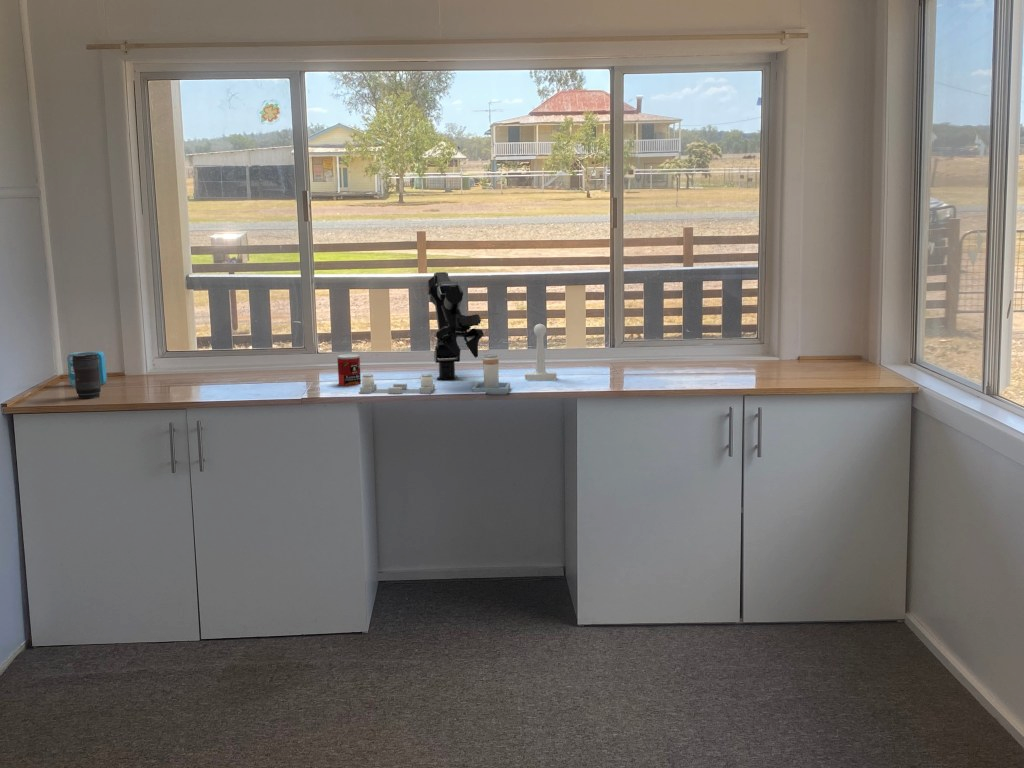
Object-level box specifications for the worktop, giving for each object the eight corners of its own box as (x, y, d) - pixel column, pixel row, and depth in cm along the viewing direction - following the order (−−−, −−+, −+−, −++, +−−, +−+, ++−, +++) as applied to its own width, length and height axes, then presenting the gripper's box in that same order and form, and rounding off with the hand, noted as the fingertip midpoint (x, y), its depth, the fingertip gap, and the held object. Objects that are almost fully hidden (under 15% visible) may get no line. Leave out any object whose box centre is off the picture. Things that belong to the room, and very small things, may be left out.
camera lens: (71, 398, 344) (66, 354, 342) (92, 394, 351) (88, 351, 348) (85, 400, 340) (81, 356, 337) (106, 396, 346) (102, 352, 344)
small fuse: (422, 390, 340) (421, 373, 339) (434, 390, 339) (433, 373, 338) (420, 392, 336) (419, 375, 335) (432, 392, 335) (431, 375, 334)
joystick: (525, 381, 359) (524, 324, 356) (524, 377, 367) (523, 322, 363) (556, 380, 360) (556, 324, 357) (554, 376, 367) (553, 321, 364)
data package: (69, 386, 368) (66, 354, 366) (73, 384, 372) (70, 352, 370) (104, 385, 369) (101, 352, 367) (107, 383, 374) (104, 351, 372)
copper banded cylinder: (480, 389, 340) (479, 355, 339) (492, 387, 344) (491, 353, 342) (490, 391, 336) (489, 356, 335) (502, 389, 340) (501, 355, 338)
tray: (476, 388, 346) (476, 382, 346) (510, 388, 345) (510, 382, 345) (472, 394, 335) (472, 388, 335) (507, 394, 334) (507, 388, 334)
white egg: (364, 390, 342) (363, 374, 341) (375, 390, 342) (375, 373, 341) (361, 392, 338) (360, 375, 337) (373, 392, 338) (372, 375, 337)
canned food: (345, 389, 350) (343, 358, 348) (334, 386, 356) (333, 355, 355) (365, 386, 354) (363, 355, 353) (354, 384, 361) (353, 353, 359)
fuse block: (364, 391, 345) (364, 383, 344) (437, 391, 342) (437, 383, 341) (357, 396, 336) (357, 388, 336) (432, 396, 333) (431, 388, 333)
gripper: (451, 302, 338) (465, 344, 333) (487, 307, 352) (501, 347, 348) (428, 318, 344) (443, 359, 339) (465, 322, 358) (479, 361, 354)
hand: (467, 356), depth 345 cm, fingers open, 9 cm apart
